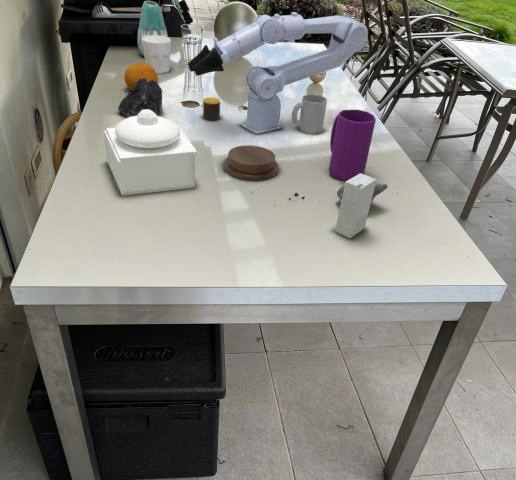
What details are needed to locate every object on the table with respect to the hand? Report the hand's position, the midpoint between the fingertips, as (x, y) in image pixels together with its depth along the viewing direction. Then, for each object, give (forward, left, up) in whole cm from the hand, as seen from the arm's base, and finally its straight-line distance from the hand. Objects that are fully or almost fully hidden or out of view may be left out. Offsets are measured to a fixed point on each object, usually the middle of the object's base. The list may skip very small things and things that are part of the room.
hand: (191, 69), depth 141 cm
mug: (-21, +39, -17) cm, 48 cm away
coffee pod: (-11, -7, -17) cm, 21 cm away
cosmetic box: (0, +63, -17) cm, 65 cm away
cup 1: (-20, -54, -17) cm, 60 cm away
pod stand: (0, +27, -16) cm, 32 cm away
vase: (-27, -69, -17) cm, 76 cm away
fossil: (-10, +56, -17) cm, 59 cm away
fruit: (-4, -37, -17) cm, 41 cm away
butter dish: (+24, +18, -17) cm, 34 cm away
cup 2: (-31, +14, -17) cm, 38 cm away
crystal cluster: (+6, -19, -17) cm, 26 cm away
